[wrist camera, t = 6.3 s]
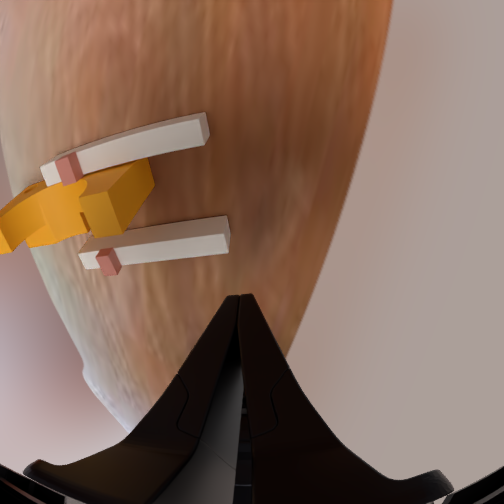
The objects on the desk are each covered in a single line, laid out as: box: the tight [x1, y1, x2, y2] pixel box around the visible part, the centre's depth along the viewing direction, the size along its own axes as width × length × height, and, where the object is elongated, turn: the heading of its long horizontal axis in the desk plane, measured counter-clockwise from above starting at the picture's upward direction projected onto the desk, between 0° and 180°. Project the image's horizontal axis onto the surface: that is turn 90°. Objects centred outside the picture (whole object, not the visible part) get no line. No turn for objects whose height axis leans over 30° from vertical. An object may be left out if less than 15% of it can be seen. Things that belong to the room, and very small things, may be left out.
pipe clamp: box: [0, 157, 155, 254], centre depth 17 cm, size 12×4×6 cm, turn 97°
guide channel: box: [40, 112, 231, 276], centre depth 18 cm, size 9×12×3 cm
